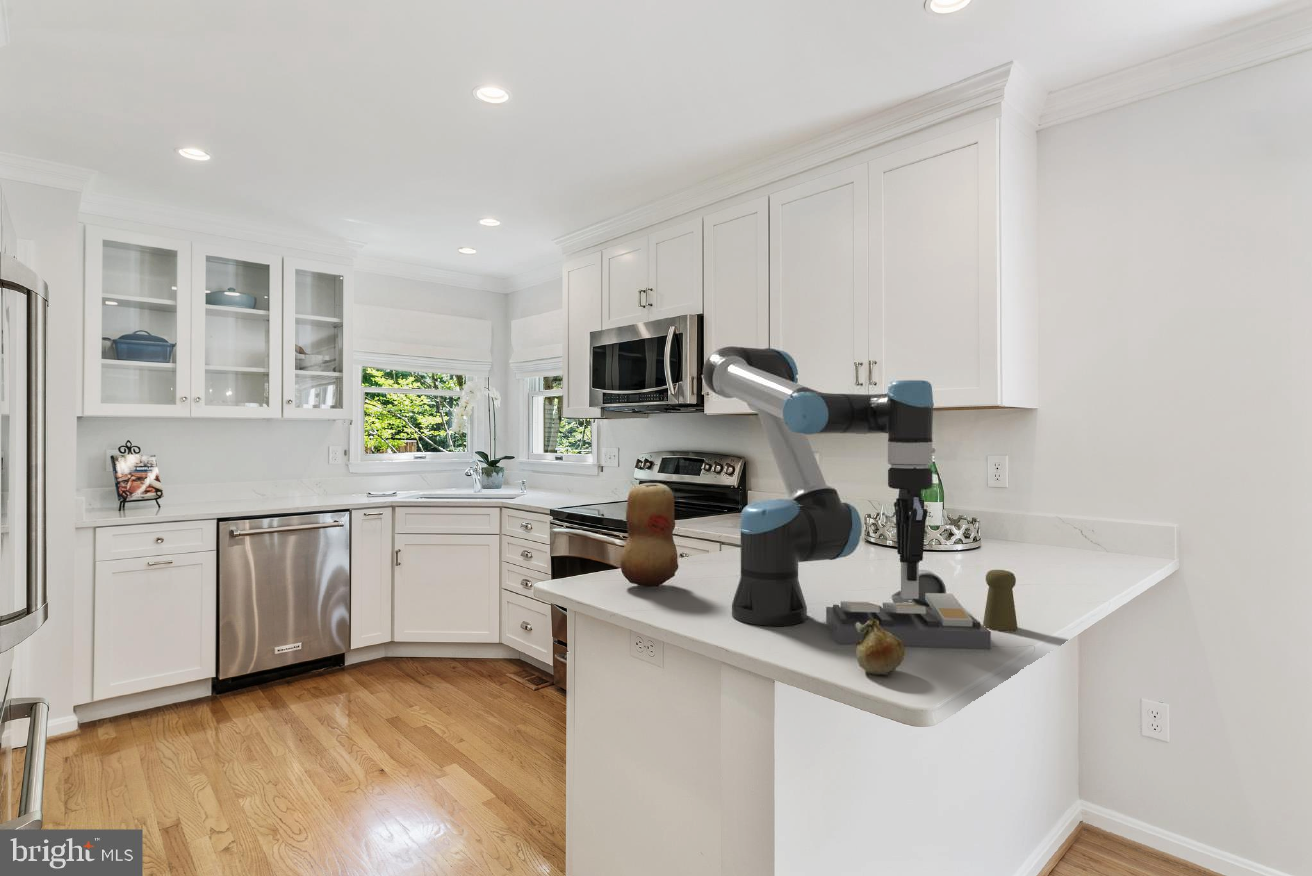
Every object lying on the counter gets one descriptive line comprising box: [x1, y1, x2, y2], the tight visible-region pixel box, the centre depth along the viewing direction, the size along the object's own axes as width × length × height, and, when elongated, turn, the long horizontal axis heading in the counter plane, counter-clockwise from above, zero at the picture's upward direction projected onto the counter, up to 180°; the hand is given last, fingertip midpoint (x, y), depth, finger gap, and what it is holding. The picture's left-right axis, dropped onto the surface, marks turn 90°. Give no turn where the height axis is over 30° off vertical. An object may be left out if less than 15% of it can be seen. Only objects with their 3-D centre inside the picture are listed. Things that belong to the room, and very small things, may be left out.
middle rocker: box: [882, 602, 927, 614], centre depth 127 cm, size 5×11×1 cm, turn 174°
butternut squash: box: [620, 482, 679, 588], centre depth 165 cm, size 14×13×25 cm
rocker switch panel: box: [825, 604, 992, 650], centre depth 127 cm, size 26×14×4 cm, turn 84°
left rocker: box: [839, 600, 880, 612], centre depth 128 cm, size 5×11×1 cm, turn 174°
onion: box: [855, 619, 906, 676], centre depth 107 cm, size 8×8×8 cm
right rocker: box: [925, 593, 973, 626], centre depth 126 cm, size 5×11×1 cm, turn 174°
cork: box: [982, 569, 1018, 633], centre depth 132 cm, size 6×6×11 cm
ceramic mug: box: [890, 569, 947, 610], centre depth 149 cm, size 11×8×8 cm
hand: (909, 597), depth 123 cm, fingers closed
